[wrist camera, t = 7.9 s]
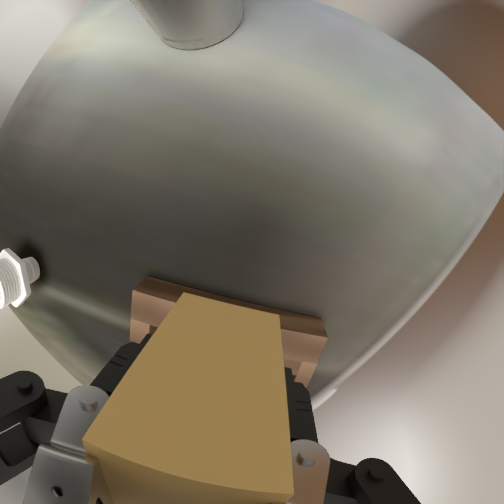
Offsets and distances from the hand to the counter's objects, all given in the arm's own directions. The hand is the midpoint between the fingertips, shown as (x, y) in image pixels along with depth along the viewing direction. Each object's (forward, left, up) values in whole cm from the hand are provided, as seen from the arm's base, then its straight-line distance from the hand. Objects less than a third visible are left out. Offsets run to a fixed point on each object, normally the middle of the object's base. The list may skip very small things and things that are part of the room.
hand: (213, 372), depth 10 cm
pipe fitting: (+8, -27, -18) cm, 33 cm away
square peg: (0, 0, -2) cm, 2 cm away
